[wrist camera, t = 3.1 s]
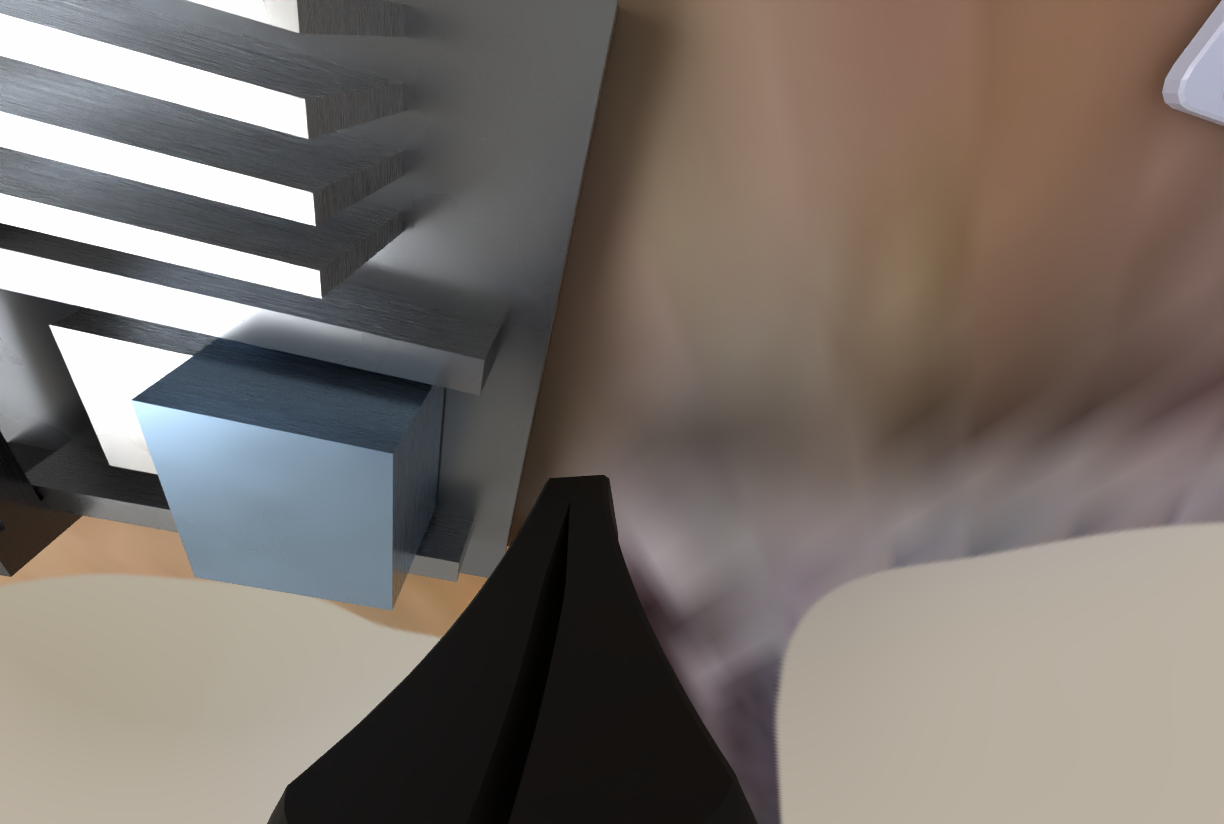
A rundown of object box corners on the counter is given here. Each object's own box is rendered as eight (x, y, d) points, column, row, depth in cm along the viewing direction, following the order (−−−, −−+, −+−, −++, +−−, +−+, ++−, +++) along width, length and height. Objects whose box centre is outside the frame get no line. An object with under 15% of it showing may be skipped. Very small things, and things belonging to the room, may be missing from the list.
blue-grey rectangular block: (446, 362, 11) (392, 453, 8) (435, 508, 14) (391, 610, 11) (86, 279, 10) (-88, 355, 8) (149, 452, 13) (35, 550, 10)
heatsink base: (618, 5, 8) (610, -21, 5) (507, 547, 16) (473, 680, 13) (-422, -334, 7) (-1529, -731, 3) (21, 456, 15) (-164, 581, 11)
